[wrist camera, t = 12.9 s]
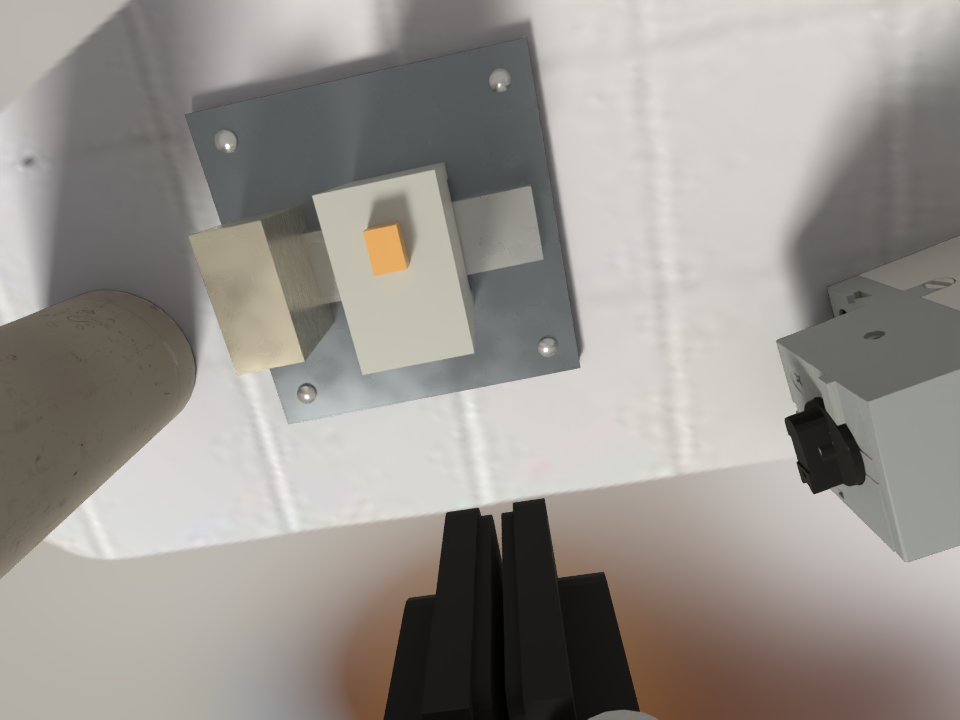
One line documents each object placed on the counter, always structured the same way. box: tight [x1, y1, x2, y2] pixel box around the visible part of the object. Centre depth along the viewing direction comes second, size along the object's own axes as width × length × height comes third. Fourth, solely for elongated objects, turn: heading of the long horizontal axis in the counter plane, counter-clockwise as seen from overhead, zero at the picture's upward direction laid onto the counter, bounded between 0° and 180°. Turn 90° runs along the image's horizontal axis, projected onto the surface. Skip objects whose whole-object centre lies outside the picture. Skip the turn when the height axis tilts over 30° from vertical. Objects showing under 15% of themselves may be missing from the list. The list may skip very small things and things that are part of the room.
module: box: [312, 162, 475, 375], centre depth 27 cm, size 4×7×9 cm, turn 12°
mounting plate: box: [185, 37, 580, 424], centre depth 29 cm, size 16×16×7 cm
